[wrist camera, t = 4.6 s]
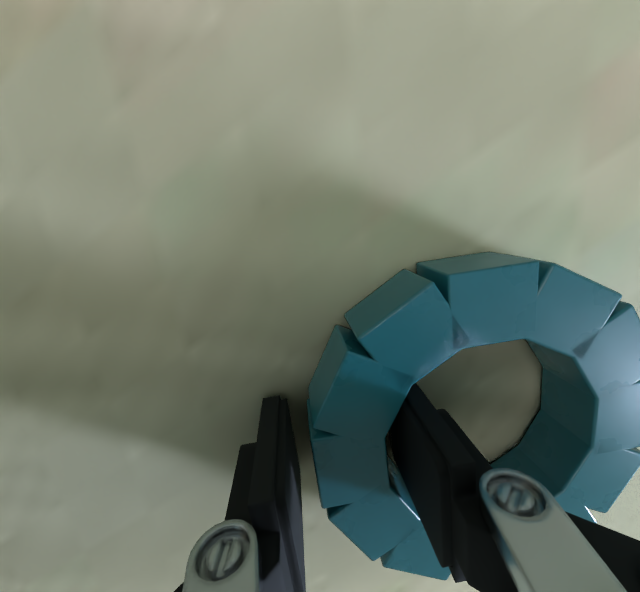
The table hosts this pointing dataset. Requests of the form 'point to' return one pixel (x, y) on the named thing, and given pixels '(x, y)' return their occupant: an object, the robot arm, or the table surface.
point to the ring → (442, 343)
